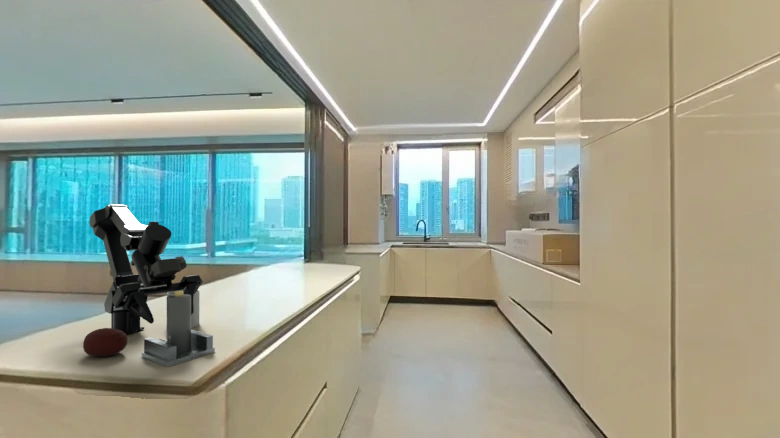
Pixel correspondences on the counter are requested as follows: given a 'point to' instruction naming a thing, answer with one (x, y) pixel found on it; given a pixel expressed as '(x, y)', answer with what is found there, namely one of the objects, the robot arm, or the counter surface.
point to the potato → (104, 342)
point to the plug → (179, 321)
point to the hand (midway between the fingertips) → (173, 317)
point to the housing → (167, 352)
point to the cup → (196, 308)
